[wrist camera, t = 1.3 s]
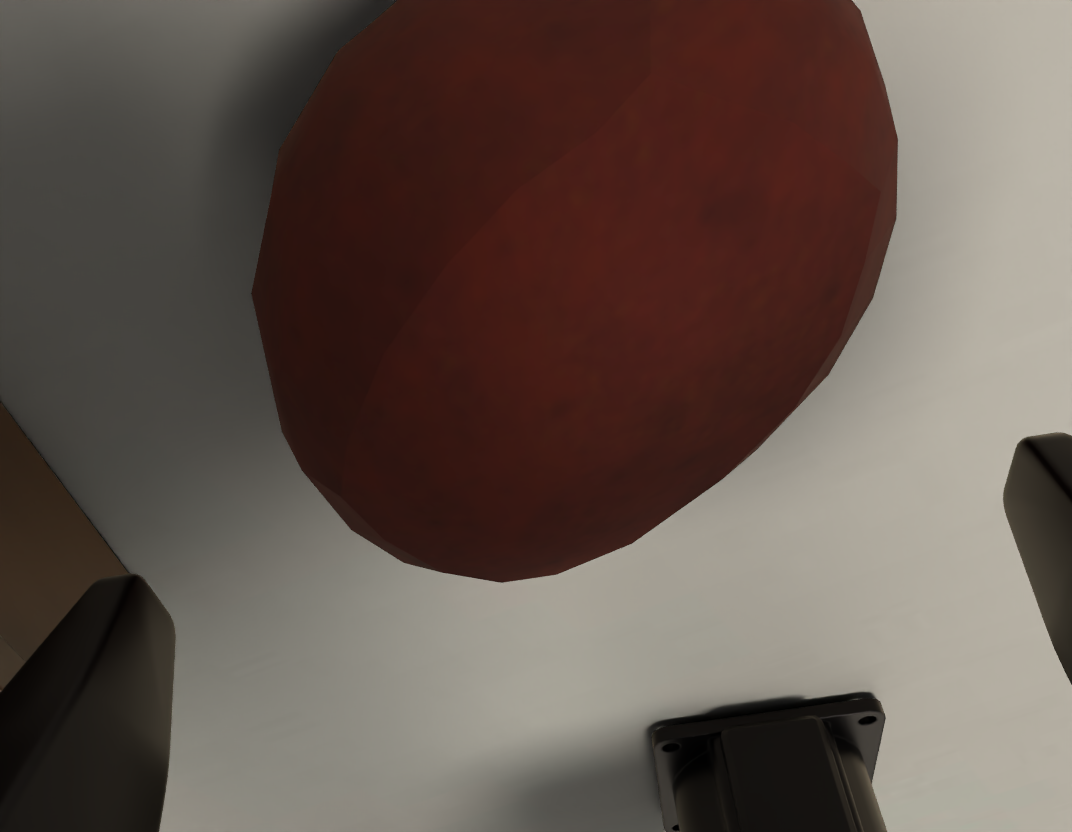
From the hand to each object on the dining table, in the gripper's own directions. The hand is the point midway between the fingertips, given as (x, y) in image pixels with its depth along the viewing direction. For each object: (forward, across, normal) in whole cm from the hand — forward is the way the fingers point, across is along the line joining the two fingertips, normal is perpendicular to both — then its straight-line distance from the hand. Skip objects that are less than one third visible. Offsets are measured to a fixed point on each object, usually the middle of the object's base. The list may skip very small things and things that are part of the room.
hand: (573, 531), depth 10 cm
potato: (+7, 0, 0) cm, 7 cm away
